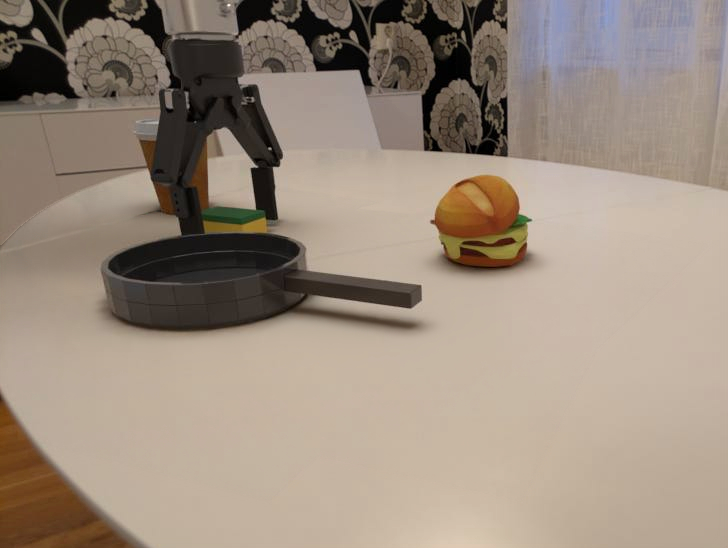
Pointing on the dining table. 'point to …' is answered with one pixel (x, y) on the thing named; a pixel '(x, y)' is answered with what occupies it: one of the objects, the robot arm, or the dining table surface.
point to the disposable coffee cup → (147, 139)
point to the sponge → (233, 220)
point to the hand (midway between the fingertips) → (234, 231)
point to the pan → (203, 279)
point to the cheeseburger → (482, 223)
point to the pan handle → (353, 288)
